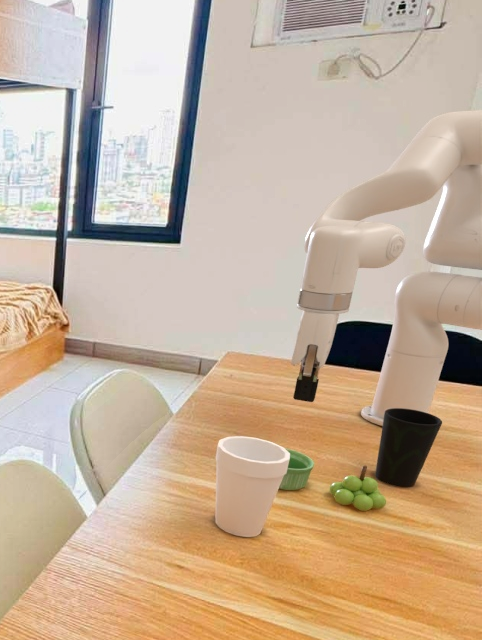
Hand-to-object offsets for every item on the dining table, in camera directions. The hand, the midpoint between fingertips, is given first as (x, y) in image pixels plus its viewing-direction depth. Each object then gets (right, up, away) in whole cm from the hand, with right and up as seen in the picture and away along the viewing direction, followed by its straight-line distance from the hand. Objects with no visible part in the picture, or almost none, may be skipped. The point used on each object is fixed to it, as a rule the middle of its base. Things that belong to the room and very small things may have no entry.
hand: (303, 399), depth 114 cm
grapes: (+1, -17, -12) cm, 20 cm away
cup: (+13, -14, -4) cm, 20 cm away
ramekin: (-7, -14, -4) cm, 16 cm away
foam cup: (-22, -19, -18) cm, 34 cm away
